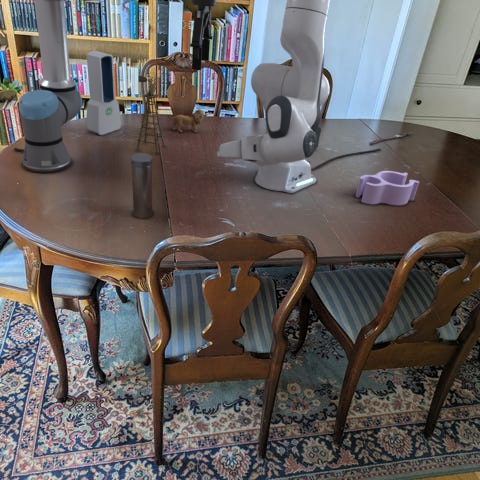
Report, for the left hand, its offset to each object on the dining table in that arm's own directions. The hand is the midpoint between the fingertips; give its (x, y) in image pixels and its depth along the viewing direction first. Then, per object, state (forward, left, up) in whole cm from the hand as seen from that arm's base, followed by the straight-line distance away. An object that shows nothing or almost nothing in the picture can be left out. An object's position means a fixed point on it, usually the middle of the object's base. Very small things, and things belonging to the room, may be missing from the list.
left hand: (200, 65), depth 149 cm
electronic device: (-43, +24, -36) cm, 61 cm away
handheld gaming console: (+34, +30, -36) cm, 57 cm away
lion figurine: (-11, +36, -36) cm, 52 cm away
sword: (+79, +59, -36) cm, 105 cm away
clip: (+67, -3, -36) cm, 76 cm away
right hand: (+14, -18, -22) cm, 31 cm away
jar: (-8, -37, -36) cm, 52 cm away
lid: (-8, -37, -18) cm, 42 cm away
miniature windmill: (-20, +12, -36) cm, 43 cm away
